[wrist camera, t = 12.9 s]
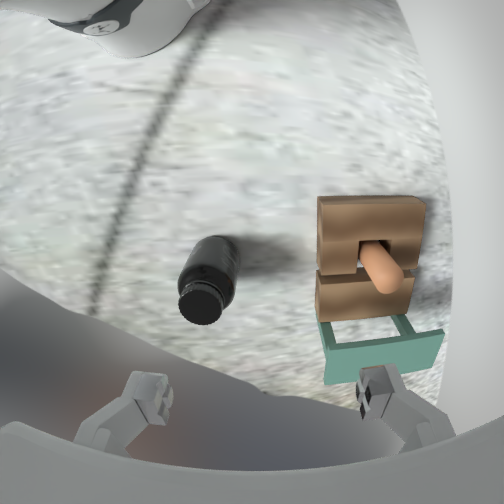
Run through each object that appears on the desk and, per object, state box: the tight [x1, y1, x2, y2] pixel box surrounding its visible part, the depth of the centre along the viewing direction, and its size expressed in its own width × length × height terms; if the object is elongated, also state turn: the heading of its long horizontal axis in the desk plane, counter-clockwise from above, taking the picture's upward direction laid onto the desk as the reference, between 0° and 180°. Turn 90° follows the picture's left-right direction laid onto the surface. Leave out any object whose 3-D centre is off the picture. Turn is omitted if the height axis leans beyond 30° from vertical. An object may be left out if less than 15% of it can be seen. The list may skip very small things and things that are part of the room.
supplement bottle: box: [178, 237, 240, 325], centre depth 36 cm, size 7×7×12 cm
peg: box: [358, 240, 404, 294], centre depth 35 cm, size 4×4×10 cm
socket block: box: [315, 196, 426, 323], centre depth 39 cm, size 17×14×4 cm
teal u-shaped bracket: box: [316, 314, 445, 385], centre depth 37 cm, size 6×15×14 cm, turn 94°
